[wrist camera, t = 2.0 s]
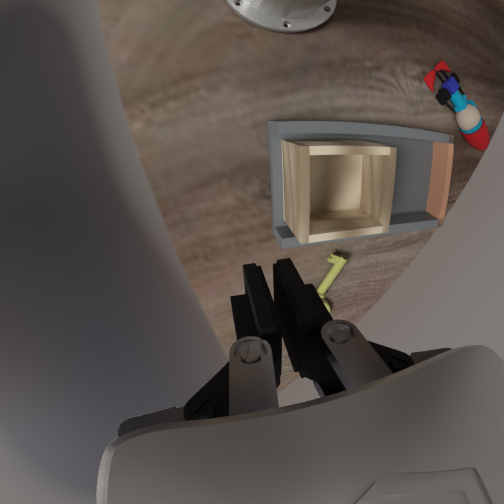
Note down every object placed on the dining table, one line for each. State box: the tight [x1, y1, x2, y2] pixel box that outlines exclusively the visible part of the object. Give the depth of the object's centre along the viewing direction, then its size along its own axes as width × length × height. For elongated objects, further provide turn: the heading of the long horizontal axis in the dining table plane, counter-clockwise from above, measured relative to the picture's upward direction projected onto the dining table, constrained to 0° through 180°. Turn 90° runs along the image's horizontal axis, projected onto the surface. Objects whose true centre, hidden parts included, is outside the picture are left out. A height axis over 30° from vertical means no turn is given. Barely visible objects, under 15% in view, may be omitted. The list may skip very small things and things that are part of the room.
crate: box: [281, 138, 397, 244], centre depth 26 cm, size 10×9×6 cm
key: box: [315, 253, 348, 313], centre depth 37 cm, size 7×12×2 cm, turn 176°
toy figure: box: [424, 60, 489, 151], centre depth 26 cm, size 8×5×15 cm
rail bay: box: [268, 120, 454, 249], centre depth 29 cm, size 24×13×4 cm, turn 94°
